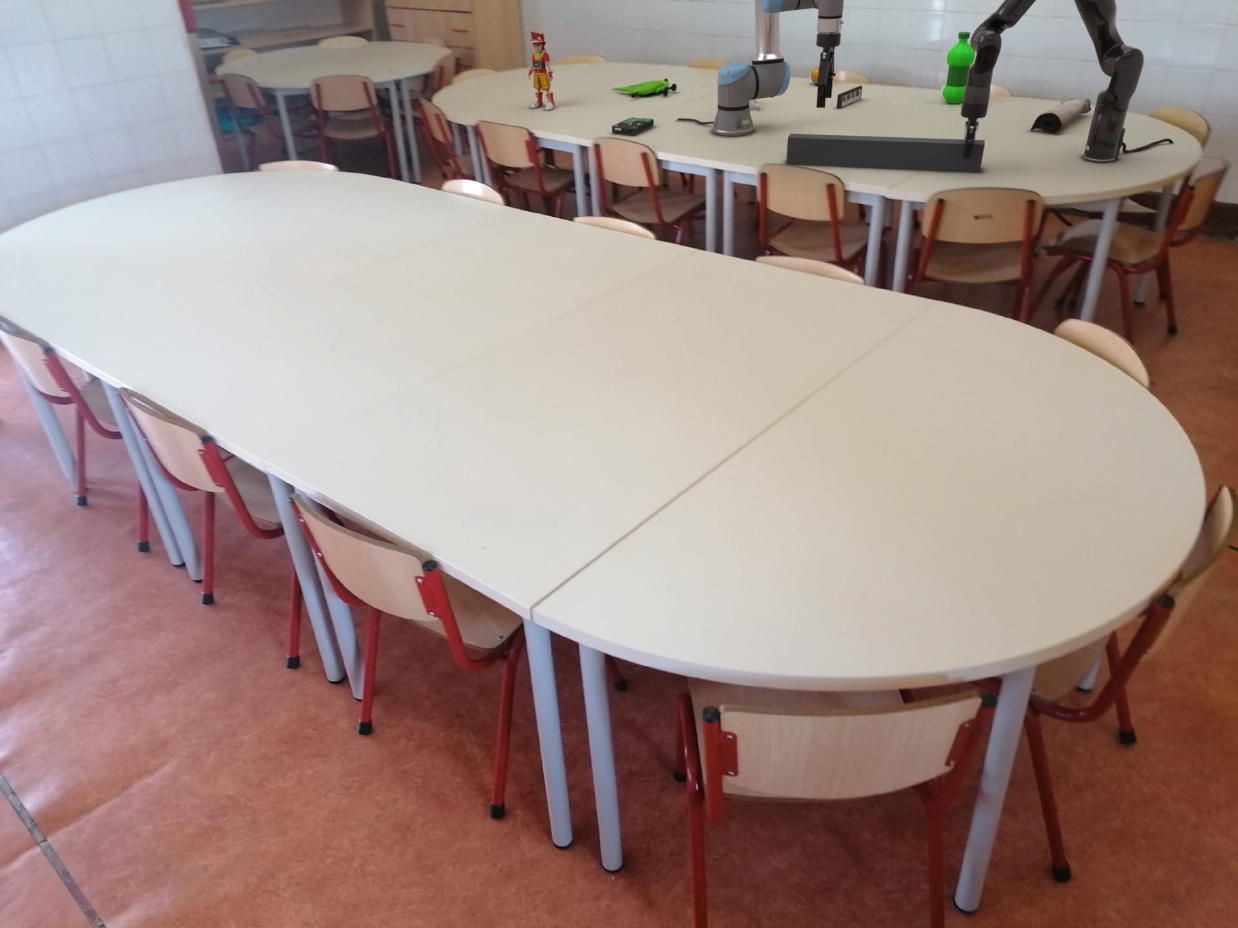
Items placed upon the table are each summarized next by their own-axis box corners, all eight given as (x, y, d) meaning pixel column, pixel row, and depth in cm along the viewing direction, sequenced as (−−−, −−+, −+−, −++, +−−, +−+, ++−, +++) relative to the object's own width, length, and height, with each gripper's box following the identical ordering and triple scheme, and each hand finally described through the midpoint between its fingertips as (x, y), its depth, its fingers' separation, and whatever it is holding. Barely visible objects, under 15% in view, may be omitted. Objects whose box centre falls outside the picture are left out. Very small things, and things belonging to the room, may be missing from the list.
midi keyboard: (839, 108, 356) (840, 95, 353) (836, 108, 357) (837, 94, 354) (861, 99, 366) (862, 86, 363) (858, 98, 367) (859, 85, 364)
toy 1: (525, 109, 381) (517, 32, 364) (534, 104, 388) (527, 28, 371) (550, 110, 377) (543, 32, 360) (559, 105, 384) (553, 28, 367)
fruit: (806, 77, 389) (817, 59, 386) (809, 80, 396) (820, 63, 393) (821, 87, 387) (833, 70, 384) (824, 90, 395) (835, 74, 392)
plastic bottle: (973, 101, 354) (984, 32, 339) (955, 106, 349) (966, 36, 335) (952, 97, 361) (962, 29, 346) (934, 102, 356) (944, 33, 342)
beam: (786, 164, 300) (787, 137, 295) (788, 159, 304) (790, 133, 299) (979, 172, 282) (984, 144, 277) (979, 168, 286) (984, 140, 281)
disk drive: (634, 136, 338) (654, 126, 348) (634, 128, 336) (654, 118, 346) (611, 133, 343) (631, 123, 353) (611, 126, 341) (631, 116, 351)
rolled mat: (1058, 102, 333) (1083, 85, 325) (1072, 123, 334) (1096, 106, 326) (1026, 124, 316) (1051, 107, 308) (1040, 146, 317) (1066, 129, 308)
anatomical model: (727, 81, 368) (751, 74, 367) (732, 106, 373) (755, 100, 373) (734, 89, 355) (759, 82, 354) (738, 116, 361) (763, 109, 360)
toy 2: (686, 85, 398) (631, 84, 414) (685, 72, 395) (629, 72, 411) (651, 104, 381) (596, 103, 397) (650, 92, 378) (594, 91, 394)
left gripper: (835, 39, 274) (829, 112, 286) (846, 25, 293) (841, 94, 305) (810, 39, 276) (806, 111, 288) (823, 25, 295) (818, 93, 307)
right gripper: (989, 106, 267) (979, 162, 276) (988, 95, 278) (979, 149, 288) (962, 105, 269) (953, 161, 279) (963, 94, 280) (954, 148, 290)
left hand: (824, 102), depth 296 cm, fingers open, 13 cm apart
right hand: (966, 155), depth 283 cm, fingers open, 7 cm apart
